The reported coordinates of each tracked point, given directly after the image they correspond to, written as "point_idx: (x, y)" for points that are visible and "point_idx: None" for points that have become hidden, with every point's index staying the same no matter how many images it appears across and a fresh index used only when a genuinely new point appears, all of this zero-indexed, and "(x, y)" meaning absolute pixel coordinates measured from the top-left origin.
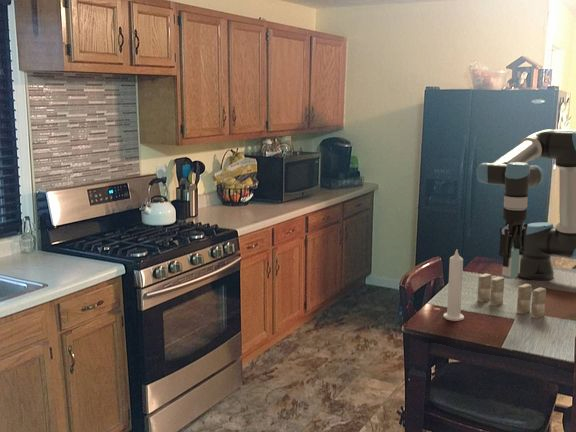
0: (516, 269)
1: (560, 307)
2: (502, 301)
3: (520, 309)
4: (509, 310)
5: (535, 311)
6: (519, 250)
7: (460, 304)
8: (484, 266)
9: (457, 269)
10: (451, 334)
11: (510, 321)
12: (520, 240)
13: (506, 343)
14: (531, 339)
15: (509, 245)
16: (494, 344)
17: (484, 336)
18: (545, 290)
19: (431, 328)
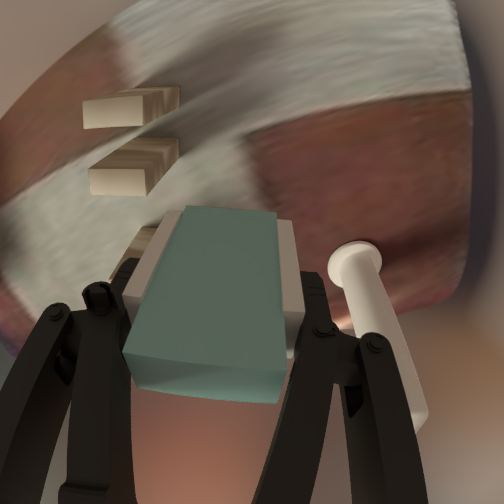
0: (194, 232)
1: (44, 105)
2: (141, 230)
3: (174, 149)
4: (177, 183)
5: (173, 94)
6: (117, 336)
7: (366, 276)
8: (24, 341)
9: (418, 379)
10: (459, 215)
11: (271, 133)
12: (85, 433)
13: (444, 81)
14: (373, 28)
15: (319, 439)
16: (465, 107)
17: (435, 146)
18: (90, 99)
19: (444, 262)
